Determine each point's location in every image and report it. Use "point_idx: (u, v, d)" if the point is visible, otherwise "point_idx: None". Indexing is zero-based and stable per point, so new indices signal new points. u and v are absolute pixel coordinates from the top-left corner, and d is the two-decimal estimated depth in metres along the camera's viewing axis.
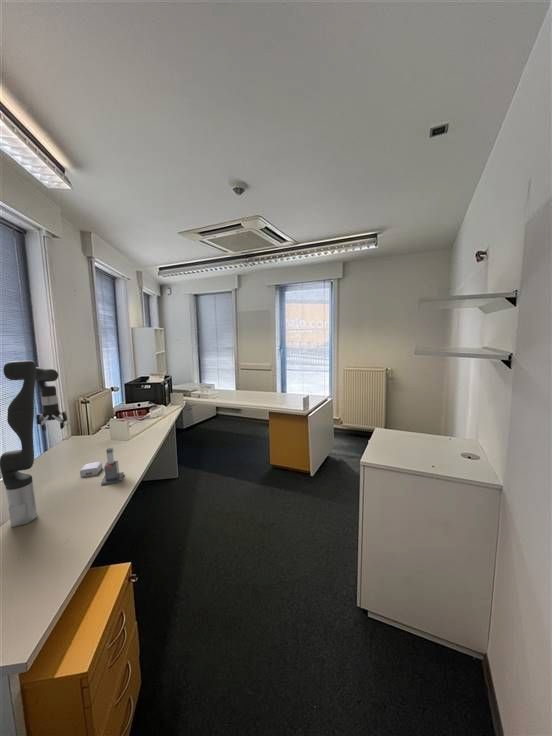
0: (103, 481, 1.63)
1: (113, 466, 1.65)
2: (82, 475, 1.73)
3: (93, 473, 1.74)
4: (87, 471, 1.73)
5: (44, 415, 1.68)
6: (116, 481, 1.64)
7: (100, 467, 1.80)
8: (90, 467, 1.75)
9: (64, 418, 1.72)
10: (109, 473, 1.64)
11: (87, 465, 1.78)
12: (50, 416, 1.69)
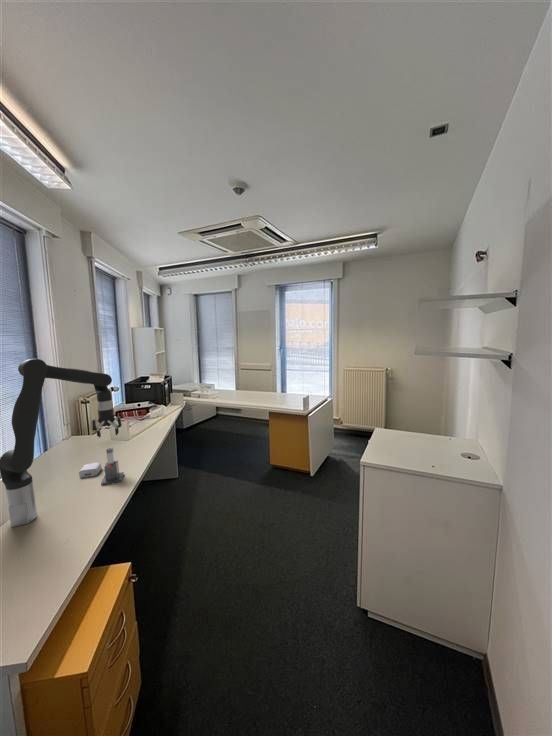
0: (103, 481, 1.63)
1: (113, 466, 1.65)
2: (81, 476, 1.72)
3: (92, 474, 1.73)
4: (86, 472, 1.72)
5: (100, 421, 1.61)
6: (116, 481, 1.64)
7: (99, 468, 1.79)
8: (89, 468, 1.74)
9: (119, 424, 1.65)
10: (109, 473, 1.64)
11: (86, 466, 1.77)
12: (105, 422, 1.63)
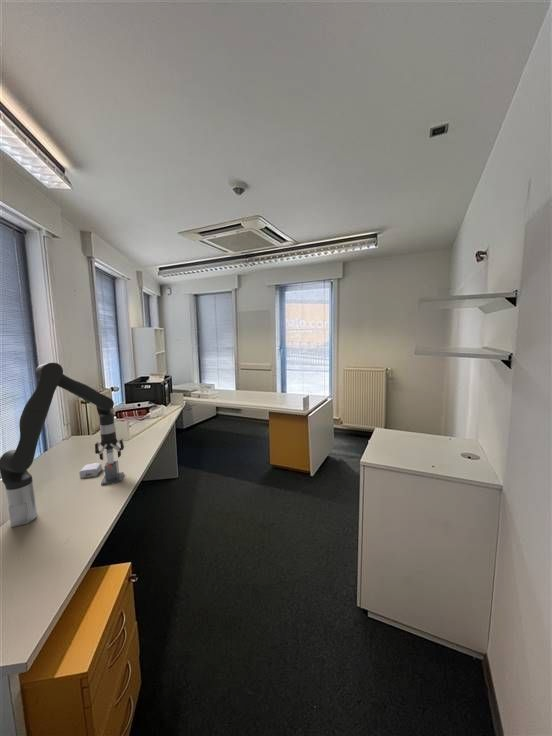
0: (103, 481, 1.63)
1: (113, 466, 1.65)
2: (81, 476, 1.71)
3: (93, 474, 1.73)
4: (87, 472, 1.72)
5: (102, 444, 1.63)
6: (116, 481, 1.64)
7: (100, 468, 1.79)
8: (90, 468, 1.74)
9: (122, 446, 1.67)
10: (109, 473, 1.64)
11: (87, 466, 1.77)
12: (108, 445, 1.64)
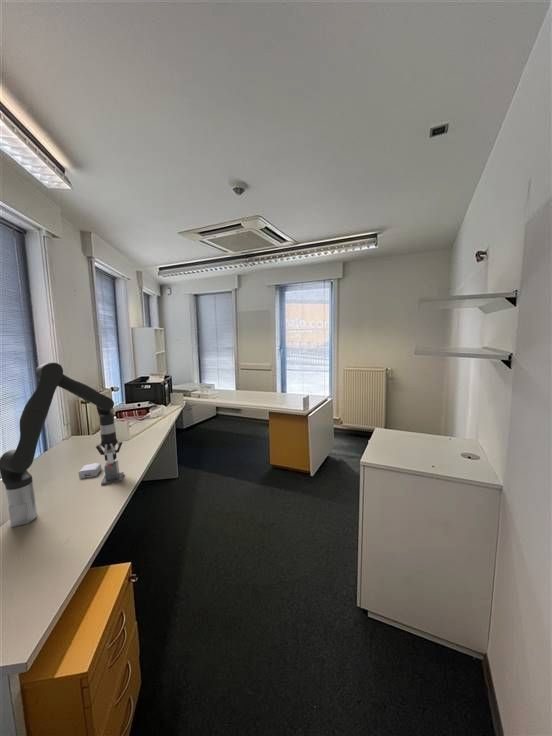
0: (103, 481, 1.63)
1: (113, 466, 1.65)
2: (81, 476, 1.71)
3: (92, 474, 1.72)
4: (86, 472, 1.71)
5: (102, 445, 1.63)
6: (116, 481, 1.64)
7: (99, 468, 1.78)
8: (89, 468, 1.73)
9: (118, 449, 1.66)
10: (109, 473, 1.64)
11: (86, 466, 1.76)
12: (108, 445, 1.64)
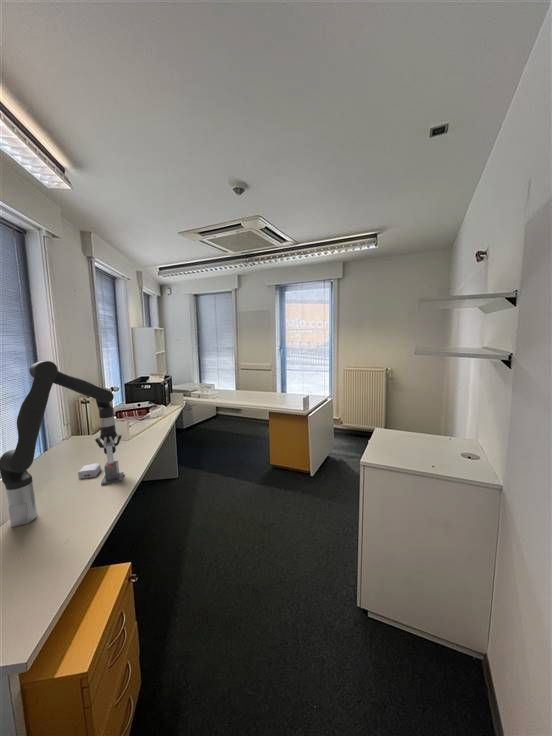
0: (103, 481, 1.63)
1: (113, 466, 1.65)
2: (80, 477, 1.70)
3: (91, 475, 1.72)
4: (85, 473, 1.71)
5: (102, 438, 1.63)
6: (116, 481, 1.64)
7: (99, 469, 1.78)
8: (88, 469, 1.73)
9: (117, 442, 1.66)
10: (109, 473, 1.64)
11: (85, 467, 1.76)
12: (107, 438, 1.64)
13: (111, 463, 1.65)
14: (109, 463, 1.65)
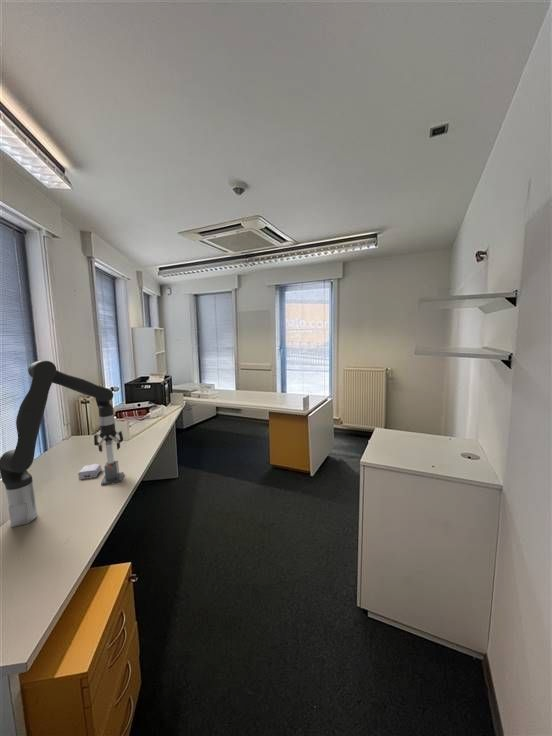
0: (103, 481, 1.63)
1: (113, 466, 1.65)
2: (80, 477, 1.70)
3: (91, 475, 1.71)
4: (85, 473, 1.70)
5: (101, 435, 1.63)
6: (116, 481, 1.64)
7: (99, 469, 1.77)
8: (88, 469, 1.72)
9: (121, 438, 1.66)
10: (109, 473, 1.64)
11: (86, 467, 1.75)
12: (107, 436, 1.64)
13: (111, 462, 1.65)
14: (109, 462, 1.65)
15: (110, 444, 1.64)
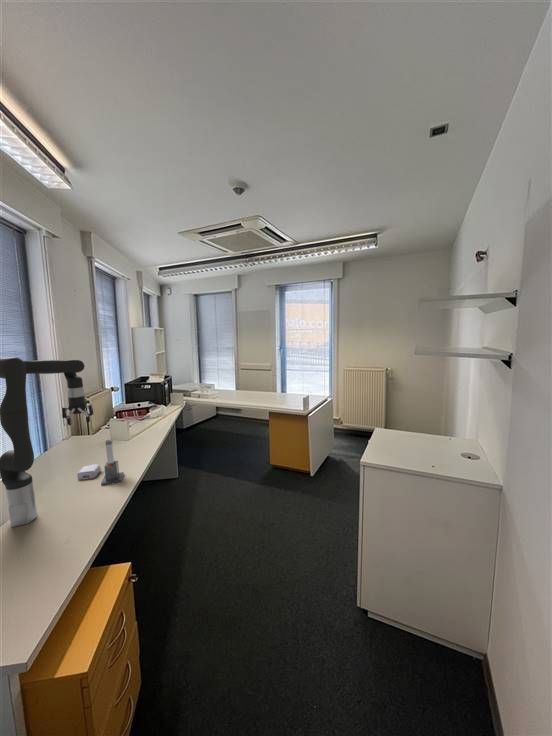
0: (103, 481, 1.63)
1: (113, 466, 1.65)
2: (79, 478, 1.69)
3: (90, 476, 1.70)
4: (84, 474, 1.69)
5: (70, 408, 1.58)
6: (116, 481, 1.64)
7: (98, 470, 1.77)
8: (88, 470, 1.71)
9: (90, 412, 1.61)
10: (109, 473, 1.64)
11: (85, 468, 1.74)
12: (76, 409, 1.59)
13: (111, 462, 1.65)
14: (109, 462, 1.65)
15: (110, 444, 1.64)
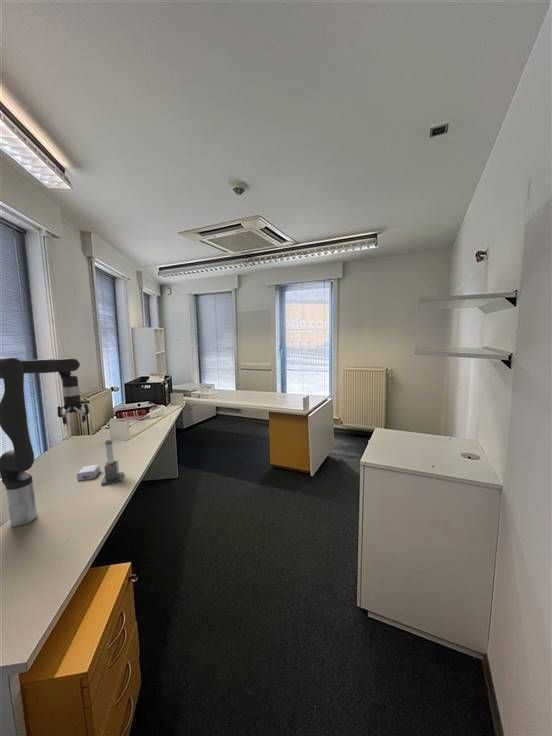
0: (103, 481, 1.63)
1: (113, 466, 1.65)
2: (79, 478, 1.69)
3: (90, 476, 1.70)
4: (84, 474, 1.69)
5: (65, 407, 1.57)
6: (116, 481, 1.64)
7: (98, 470, 1.76)
8: (87, 470, 1.71)
9: (86, 410, 1.60)
10: (109, 473, 1.64)
11: (84, 468, 1.74)
12: (72, 408, 1.58)
13: (111, 462, 1.65)
14: (109, 462, 1.65)
15: (110, 444, 1.64)
